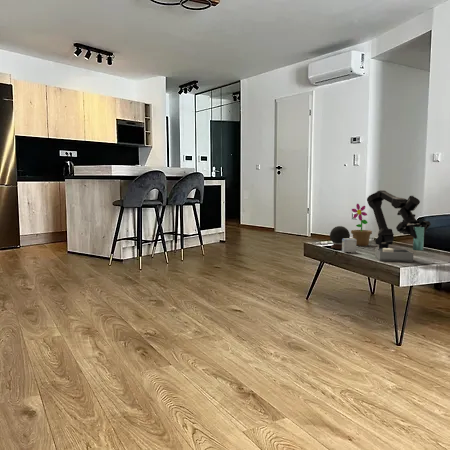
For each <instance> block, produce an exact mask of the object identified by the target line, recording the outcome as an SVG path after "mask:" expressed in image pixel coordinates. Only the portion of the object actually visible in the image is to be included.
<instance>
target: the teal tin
mask: <svg viewBox="0 0 450 450" xmlns="http://www.w3.org/2000/svg"><path fill="white" fill-rule="evenodd" d="M424 228H425V227H414V231H415V233H416V237H417V238H416V239H415V238H414V237H412V238H413V239H412V240H413V241H412V250H413V251H419V252H420V251H421V252H422V251H424V245H425V244H424V242H425V238H424Z"/></svg>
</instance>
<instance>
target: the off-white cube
mask: <svg viewBox="0 0 450 450" xmlns="http://www.w3.org/2000/svg"><path fill="white" fill-rule="evenodd" d="M394 249H395V248H391V247H389V248H383V251H382V252H394Z"/></svg>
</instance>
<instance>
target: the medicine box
mask: <svg viewBox="0 0 450 450" xmlns="http://www.w3.org/2000/svg"><path fill="white" fill-rule="evenodd" d="M356 241H357V240H356V239H354V238H353V237H350V238H343V239H342V249H341V252H342V251H343V252H342V253H344V252H351V253H352V254H353V253H357V245H356Z"/></svg>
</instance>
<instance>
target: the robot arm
mask: <svg viewBox="0 0 450 450" xmlns="http://www.w3.org/2000/svg"><path fill="white" fill-rule="evenodd" d="M384 200H385V202H388V203H390V204H391V206H392V207H393V208H394V209H397V210H398V212H397V214H396V215H397V216H401V218H402V221H399V222H398V224H397V225H396V228H395V229H396V230H397V232H399V234H403V236H406V235H408V236H409V235H410V236H411V237H412V238H413V237H414V238H415V239H416V238H417V237H416V233H415V231H414V227H425V228H424V239H425V238H426V231H427V230H428V228H429V227H430V226H431V225H432V223H431V222H430V220H424V221H423V220H422V221H421V222H420V223H419V219H416V214H415V213H413V211H415V210H416V208H417V207H418V206H419V205H420V203H421V200H420V199H418V198H417V197H415V196H414V195H409V197H408V198H403V197H397V196H396V195H393V194H391V193H390V192H388V191H386V190H380V189H379V190H377V191H376V192H374V193H371V194H369V195H368V197H366V201H367V205H368V206H369V207H370V209H372V212H373V213H374V217H375V220H376V223H377V227H378V232H377V238H376V239H375V241H374V242H375V245H378V249H383V248H390V246H389V245H393V242H394V239H395V237H394V232H393V229H392V228H389V227H388V225H387V222H386V219H385V215H384V212H383V210H382V205H383V201H384Z"/></svg>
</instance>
